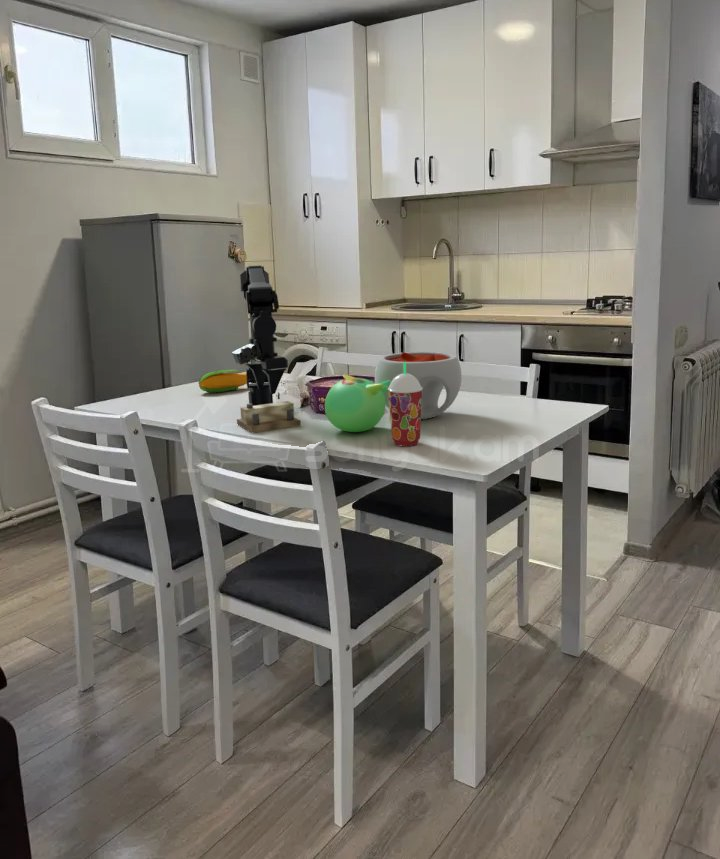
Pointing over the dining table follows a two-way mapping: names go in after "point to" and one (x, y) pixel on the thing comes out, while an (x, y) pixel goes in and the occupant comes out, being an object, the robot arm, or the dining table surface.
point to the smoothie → (405, 408)
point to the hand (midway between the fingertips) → (266, 391)
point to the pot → (424, 376)
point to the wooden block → (266, 412)
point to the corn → (221, 381)
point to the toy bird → (356, 404)
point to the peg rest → (271, 423)
